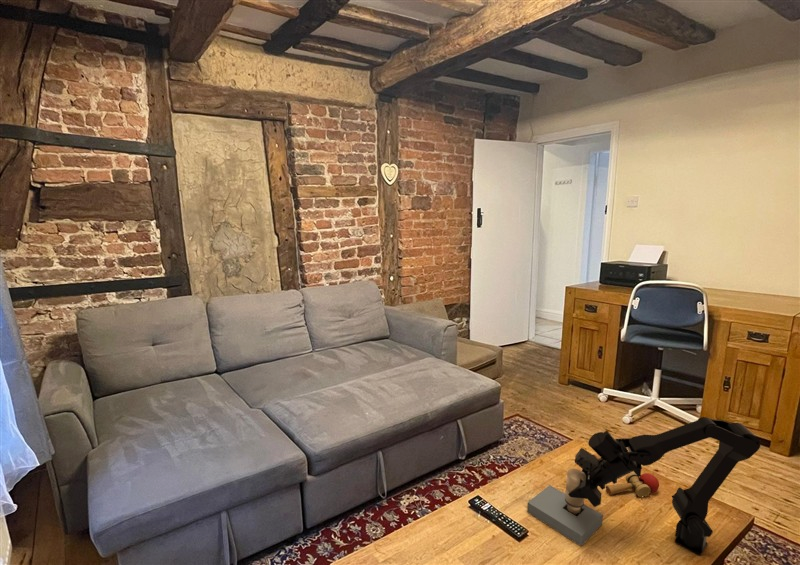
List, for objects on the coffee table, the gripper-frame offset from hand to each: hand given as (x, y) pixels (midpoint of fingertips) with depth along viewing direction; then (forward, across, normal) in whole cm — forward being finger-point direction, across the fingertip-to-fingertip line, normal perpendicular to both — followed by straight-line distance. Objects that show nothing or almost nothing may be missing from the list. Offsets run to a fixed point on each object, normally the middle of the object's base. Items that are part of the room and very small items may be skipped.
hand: (570, 489), depth 130 cm
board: (+8, +1, +6) cm, 10 cm away
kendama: (-6, -23, +20) cm, 31 cm away
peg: (+4, 0, +6) cm, 7 cm away
